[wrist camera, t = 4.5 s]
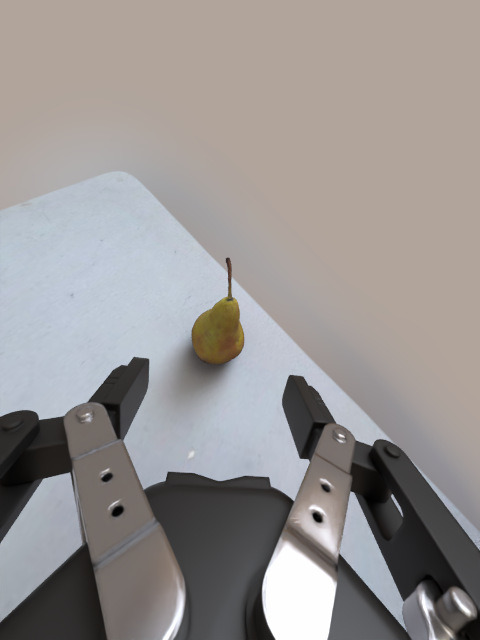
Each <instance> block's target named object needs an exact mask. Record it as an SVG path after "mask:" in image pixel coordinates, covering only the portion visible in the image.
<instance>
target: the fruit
mask: <svg viewBox="0 0 480 640" xmlns="http://www.w3.org/2000/svg"><path fill="white" fill-rule="evenodd" d="M226 263H227V266H228V283H229V287H228V297H225V298H223V299H222V300H220V301H219V302H218V303H216V304H215V305H214V307H213V308H212V309H210V310H208V311H206V312H204V313H203V314H201V315H200V316H199V317H198V319H197V320H196V321H195V323H194V326H193V328H192V342H193V347H194V350H195V352H196V354H197V355H198V357H199V358H200V359H201V360H202V361H203V362H205V363H207V364H222V363H226V362H228V361H230V360H232V359H234V358H235V357H237V356H238V355H239V354H240V353H241V351H242V349H243V346H244V333H243V329H242V326H241V324H240V321H239V318H240V311H239V306H238V302H237V300H236V299H235V298H233V297H232V294H231V261H230V259H229V258H226Z"/></svg>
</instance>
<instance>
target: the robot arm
mask: <svg viewBox="0 0 480 640" xmlns="http://www.w3.org/2000/svg"><path fill="white" fill-rule="evenodd" d="M148 382H149V359H147V358H138V357H134V358H133V359H132V360H131V362H130V363H129V364H128V366H125V365H121V366H120V367H118V368H116V369H114V370H113V371H112V372H111V374H110V375H109V376H108V378H107V379H106V380H105V381H104V383H103V384H102V385H101V386H100V387H99V388H98V390H97V391H96V392H95V393H94V395H93V396H92V397H91V398H90V400H89V401H88V402H87V403H84V404H81V405H78V406H76V407H74V408H72V409H71V410H70V411H68V412H67V414H66V415H65V416H63V417H57V418H50V419H43V420H39V418H38V415H37V413H36V412H33V411H29V410H22V411H16V412H12V413H9V414H6V415H4V416H1V417H0V543H1V541H2V540H3V538H4V537H5V535H6V534H7V532H8V531H9V529H10V528H11V526H12V525H13V523H14V522H15V520H16V519H17V517H18V516H19V514H20V513H21V511H22V510H23V508H24V507H25V505H26V504H27V502H28V501H29V499H30V498H31V496H32V495H33V493H34V492H35V490H36V489H37V487H38V486H39V484H40V483H41V481H42V480H43V478H48V477H52V476H56V475H61V474H65V473H69V472H70V474H71V480H72V485H73V491H74V497H75V502H76V508H77V514H78V520H79V527H80V533H81V539H82V546H81V547H80V548H79V549H78V550H77V551H76V552H75V553H74V554H72V555H71V556H70V557H69V558H68V559H67V560H66V561H65V562H64V563H63V564H62V565H61V566H60V567H59V568H58V569H57V570H55V571H54V572H53V573H52V574H51V575H50V576H49V577H48V578H47V579H46V580H45V581H44V582H43V583H42V584H41V585H39V586H38V587H37V588H36V589H35V590H34V591H33V592H32V593H31V594H30V595H29V596H28V597H27V598H26V599H25V600H24V601H22V602H21V603H20V604H19V605H18V606H17V607H16V608H15V609H14V610H13V611H12V612H11V613H10V614H9V615H8V616H7V617H5V618H4V619H3V620H2V621H1V622H0V640H480V551H479V549H478V548H477V547H476V545H475V544H474V543H473V541H472V540H471V539H470V538H469V536H468V535H467V534H466V532H465V531H464V530H463V528H462V527H461V526H460V524H459V523H458V522H457V520H456V519H455V518H454V517H453V515H452V514H451V513H450V511H449V510H448V509H447V507H446V506H445V505H444V503H443V502H442V501H441V500H440V498H439V497H438V496H437V494H436V493H435V492H434V490H433V489H432V488H431V486H430V485H429V484H428V483H427V481H426V480H425V479H424V477H423V476H422V475H421V473H420V472H419V471H418V469H417V468H416V467H415V466H414V464H413V463H412V462H411V460H410V459H409V458H408V456H407V455H406V454H405V453H404V452H403V451H402V450H401V449H400V448H399V447H398V446H396V445H395V444H393V443H391V442H389V441H386V440H382V439H379V440H376V441H375V442H374V444H373V446H370V445H367V444H364V443H361V442H358V441H356V440H355V438H354V436H353V435H352V434H351V432H350V431H348V430H347V429H346V428H344V427H343V426H341V425H338V424H336V422H335V420H334V419H333V417H332V415H331V413H330V412H329V410H328V408H327V407H326V406H325V403H324V402H323V400H322V398H321V396H320V395H319V393H318V392H317V391H316V390H315V389H314V388H313V387H312V386H308V384H307V382H306V381H305V379H304V377H303V376H294V375H290V376H289V377H288V380H287V384H286V387H285V390H284V394H283V398H282V406H283V409H284V412H285V415H286V418H287V421H288V424H289V427H290V430H291V433H292V436H293V439H294V442H295V445H296V448H297V451H298V454H299V457H300V459H309V461H310V464H309V466H308V469H307V471H306V474H305V476H304V479H303V481H302V484H301V486H300V489H299V491H298V494H297V496H296V499H295V501H293V500H292V499H291V498H290V497H288V496H287V495H286V494H284V493H283V492H281V491H280V490H278V489H275V488H273V487H271V485H270V480H269V477H255V476H243V477H239V478H234V479H230V480H225V481H216V480H213V479H210V478H207V477H204V476H201V475H198V474H195V473H180V472H168V473H167V478H166V481H164V482H160V483H157V484H154V485H152V486H150V487H148V488H146V489H145V490H143V488H142V485H141V483H140V481H139V478H138V476H137V473H136V471H135V469H134V466H133V464H132V461H131V459H130V456H129V454H128V452H127V449H126V447H125V444H124V442H123V440H124V438H125V436H126V434H127V432H128V429H129V427H130V425H131V423H132V421H133V419H134V417H135V415H136V413H137V411H138V409H139V407H140V405H141V403H142V401H143V399H144V396H145V394H146V392H147V388H148ZM350 491H351V492H354V493H355V495H356V497H357V499H358V502H359V504H360V506H361V508H362V510H363V513H364V515H365V517H366V519H367V522H368V524H369V526H370V528H371V530H372V533H373V535H374V537H375V539H376V541H377V544H378V546H379V548H380V550H381V553H382V555H383V557H384V559H385V561H386V564H387V566H388V568H389V570H390V573H391V575H392V577H393V579H394V581H395V584H396V586H397V588H398V590H399V593H400V595H401V597H402V599H403V601H404V603H403V607H402V614H403V620H404V624H405V626H406V629H407V632H406V630H405V629H404V628H403V627H402V626H401V624H400V623H399V622H398V621H397V620H396V619H395V617H394V616H393V615H392V614H391V613H390V612H389V610H388V609H387V608H386V607H385V606H384V605H383V603H382V602H381V601H380V600H379V599H378V598H377V597H376V595H375V594H374V593H373V592H372V591H371V590H370V588H369V587H368V586H367V585H366V584H365V583H364V581H363V580H362V579H361V578H360V577H359V576H358V574H357V573H356V572H355V571H354V570H353V569H352V568H351V566H350V565H349V564H348V563H347V562H346V561H345V559H344V558H343V557H342V556H341V555H340V554H339V552H340V546H341V541H342V535H343V529H344V524H345V518H346V512H347V506H348V501H349V495H350ZM392 494H393V495H394V497H395V499H396V500H397V502H398V504H399V505H400V507H401V509H402V513H403V517H402V515H401V513H400V512H399V510H398V508H397V507H396V505H395V503H394V501H393V500H392V498H391V495H392Z"/></svg>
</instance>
